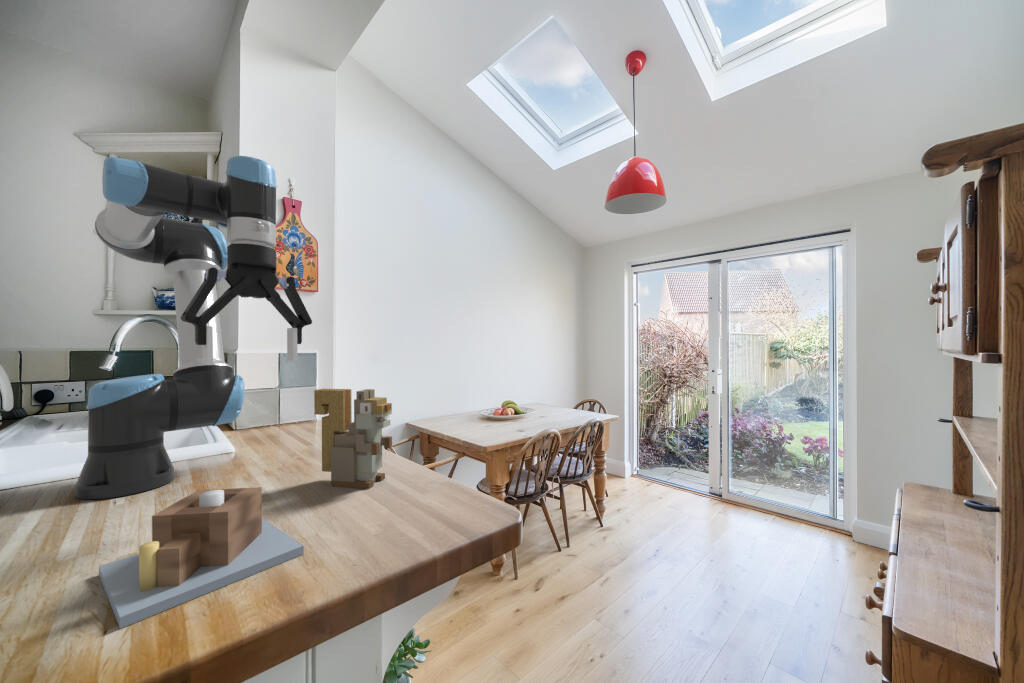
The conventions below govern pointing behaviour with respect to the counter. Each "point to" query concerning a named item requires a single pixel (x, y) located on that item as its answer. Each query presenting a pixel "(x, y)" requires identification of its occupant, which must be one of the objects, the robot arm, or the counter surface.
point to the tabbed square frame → (204, 533)
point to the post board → (137, 575)
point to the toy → (353, 436)
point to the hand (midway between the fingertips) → (253, 363)
